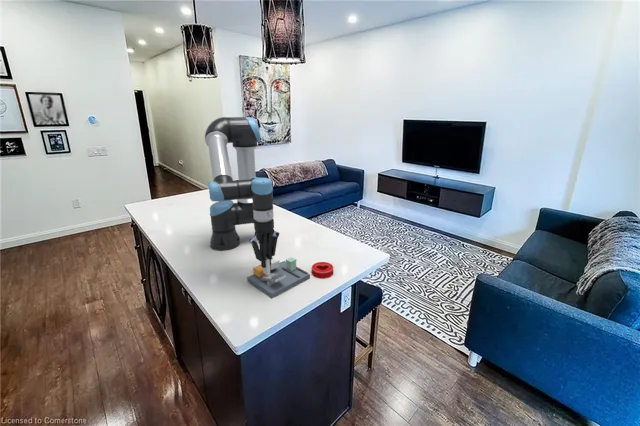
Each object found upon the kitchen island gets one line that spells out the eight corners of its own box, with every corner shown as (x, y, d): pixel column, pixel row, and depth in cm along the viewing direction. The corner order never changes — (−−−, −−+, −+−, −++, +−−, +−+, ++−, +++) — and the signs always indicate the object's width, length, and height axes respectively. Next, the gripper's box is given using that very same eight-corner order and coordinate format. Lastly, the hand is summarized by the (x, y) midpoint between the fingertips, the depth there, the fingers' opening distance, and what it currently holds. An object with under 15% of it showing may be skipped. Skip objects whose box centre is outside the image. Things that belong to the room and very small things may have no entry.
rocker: (261, 280, 119) (260, 277, 119) (271, 275, 122) (270, 272, 122) (275, 282, 112) (274, 279, 111) (285, 277, 115) (285, 274, 115)
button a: (253, 273, 123) (253, 267, 122) (262, 269, 126) (261, 264, 125) (259, 277, 120) (259, 271, 119) (268, 273, 123) (268, 267, 122)
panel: (247, 281, 122) (246, 273, 121) (284, 264, 136) (284, 257, 135) (272, 298, 111) (271, 289, 110) (309, 278, 125) (309, 270, 124)
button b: (265, 266, 127) (264, 260, 126) (273, 262, 130) (273, 257, 129) (271, 270, 124) (271, 264, 123) (279, 266, 127) (279, 260, 126)
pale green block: (286, 269, 128) (285, 259, 126) (291, 266, 130) (291, 257, 128) (291, 271, 126) (290, 262, 124) (296, 268, 128) (296, 259, 126)
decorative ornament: (317, 280, 124) (317, 274, 123) (308, 270, 132) (308, 264, 131) (337, 276, 127) (337, 269, 126) (327, 265, 136) (327, 259, 135)
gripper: (254, 225, 105) (258, 283, 113) (283, 217, 114) (285, 270, 121) (243, 220, 110) (247, 275, 117) (271, 212, 119) (273, 264, 126)
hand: (266, 273), depth 119 cm, fingers closed
